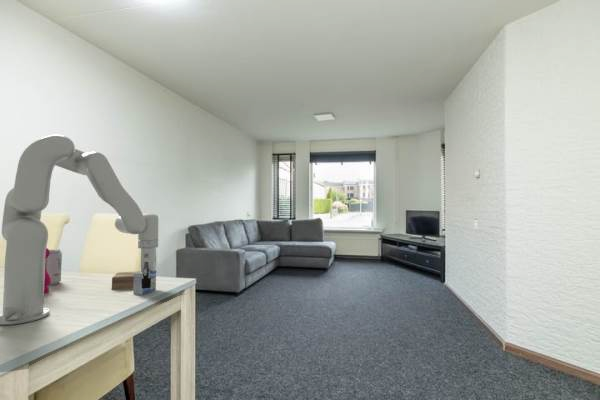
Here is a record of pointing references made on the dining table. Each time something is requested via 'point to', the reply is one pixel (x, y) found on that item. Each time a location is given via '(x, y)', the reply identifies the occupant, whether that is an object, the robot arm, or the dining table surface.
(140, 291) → the medicine box
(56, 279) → the grey upright box
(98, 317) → the dining table surface
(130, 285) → the walnut plinth
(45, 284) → the pepper mill
